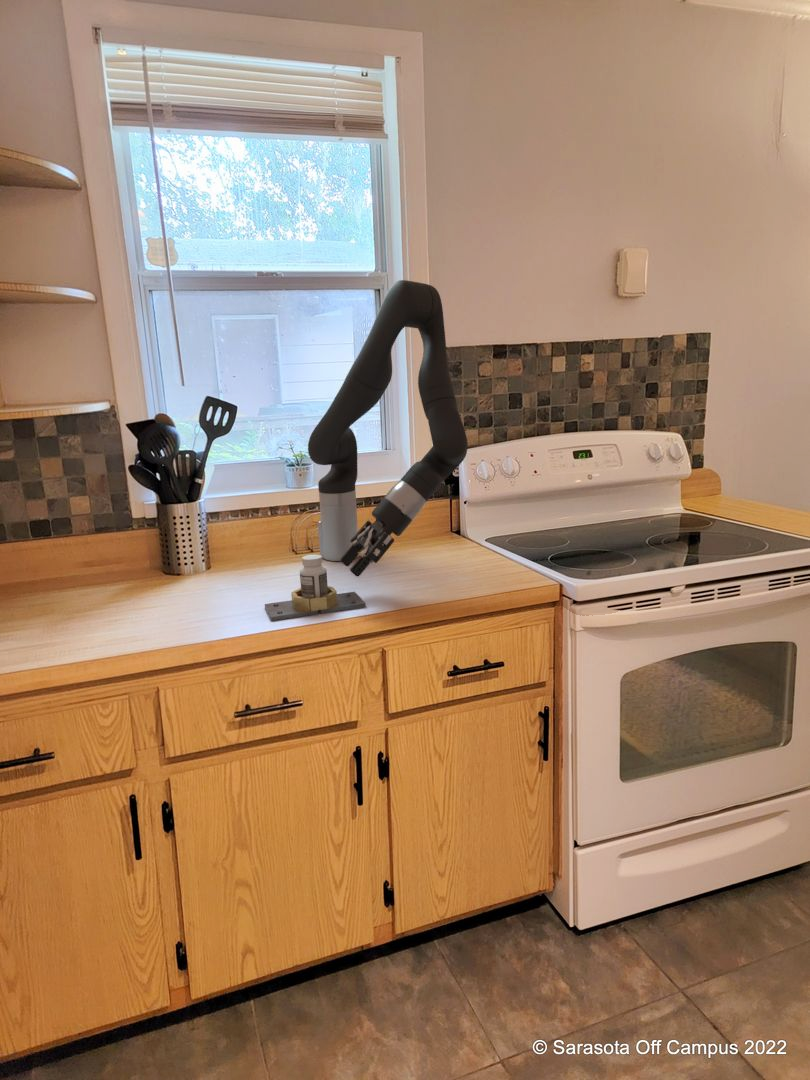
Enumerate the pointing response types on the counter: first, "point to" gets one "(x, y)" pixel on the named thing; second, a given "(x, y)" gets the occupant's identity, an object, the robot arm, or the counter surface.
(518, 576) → the counter surface
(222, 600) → the counter surface
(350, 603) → the octagonal bottle holder
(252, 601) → the counter surface
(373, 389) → the robot arm
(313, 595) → the pill bottle
